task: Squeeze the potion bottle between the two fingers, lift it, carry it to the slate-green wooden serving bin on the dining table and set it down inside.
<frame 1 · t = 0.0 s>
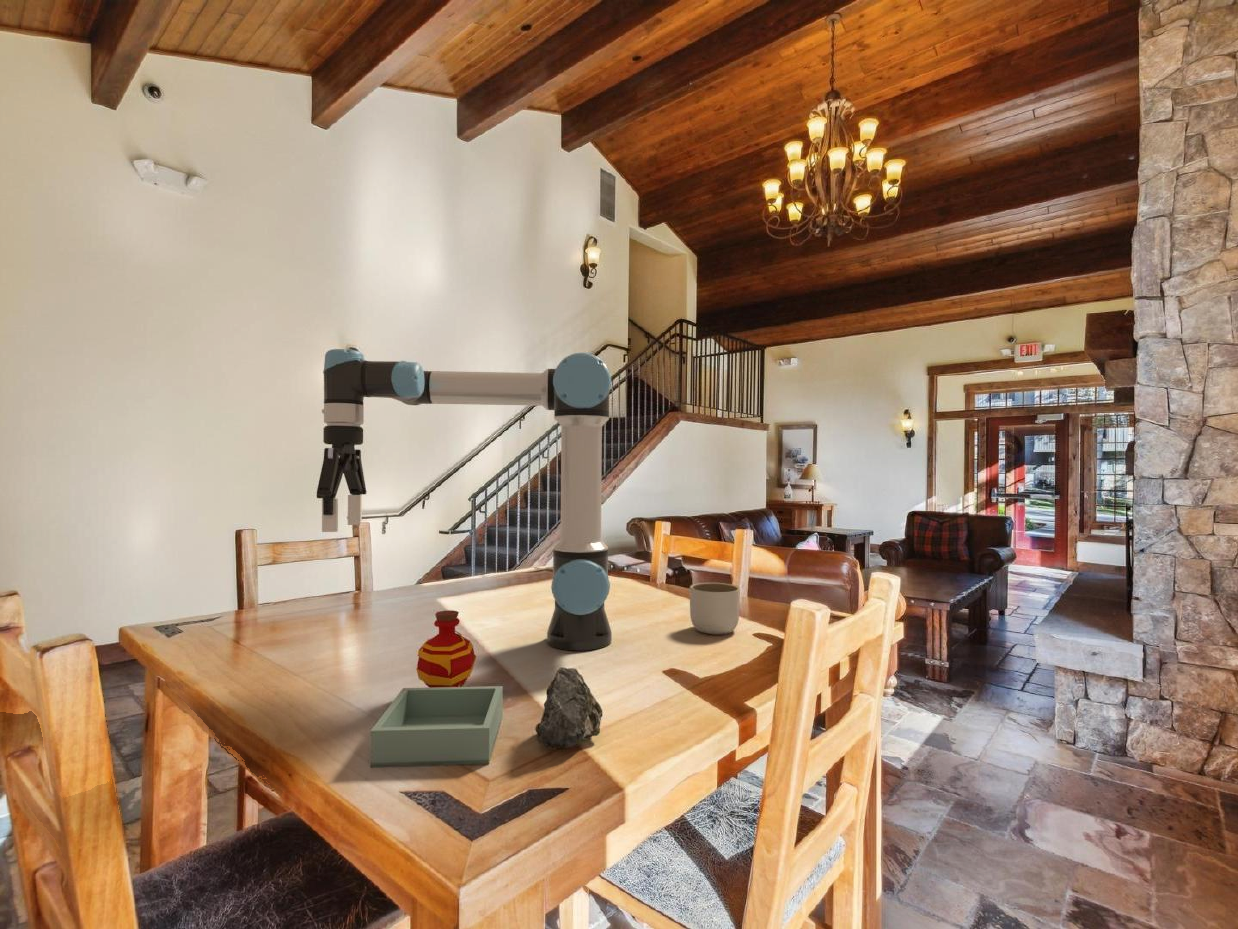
hand: (342, 528, 127), 28 cm above the table, fingers open, 13 cm apart
potion bottle: (445, 698, 109), on the table
planter: (714, 631, 154), on the table
rock: (568, 744, 92), on the table
serving bin: (442, 739, 92), on the table
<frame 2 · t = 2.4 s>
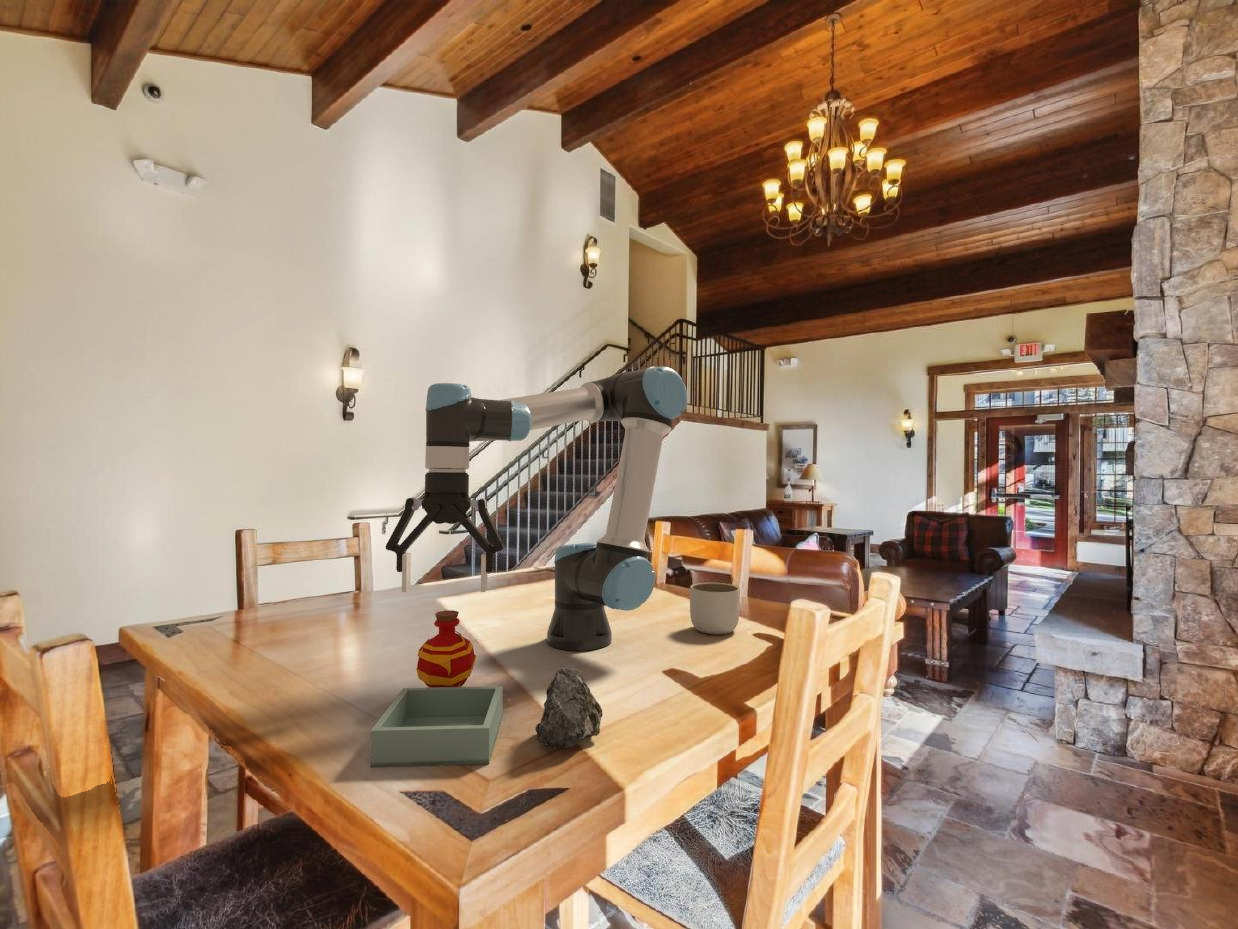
hand: (445, 590, 109), 19 cm above the table, fingers open, 13 cm apart
nothing on the table moved.
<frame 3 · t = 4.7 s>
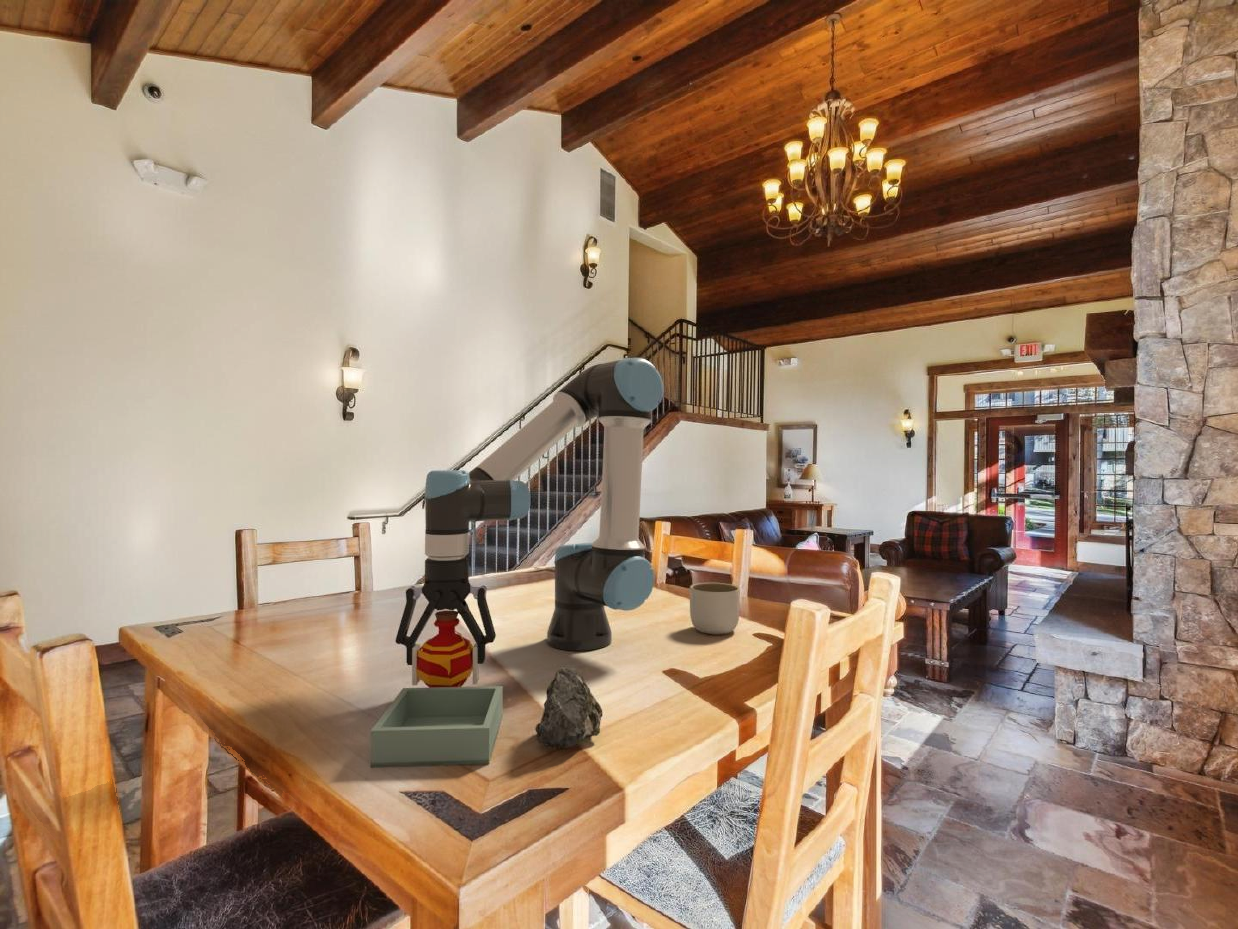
hand: (446, 682, 109), 3 cm above the table, fingers closed on potion bottle, 10 cm apart
potion bottle: (445, 698, 109), on the table, touching gripper
everything else where it was.
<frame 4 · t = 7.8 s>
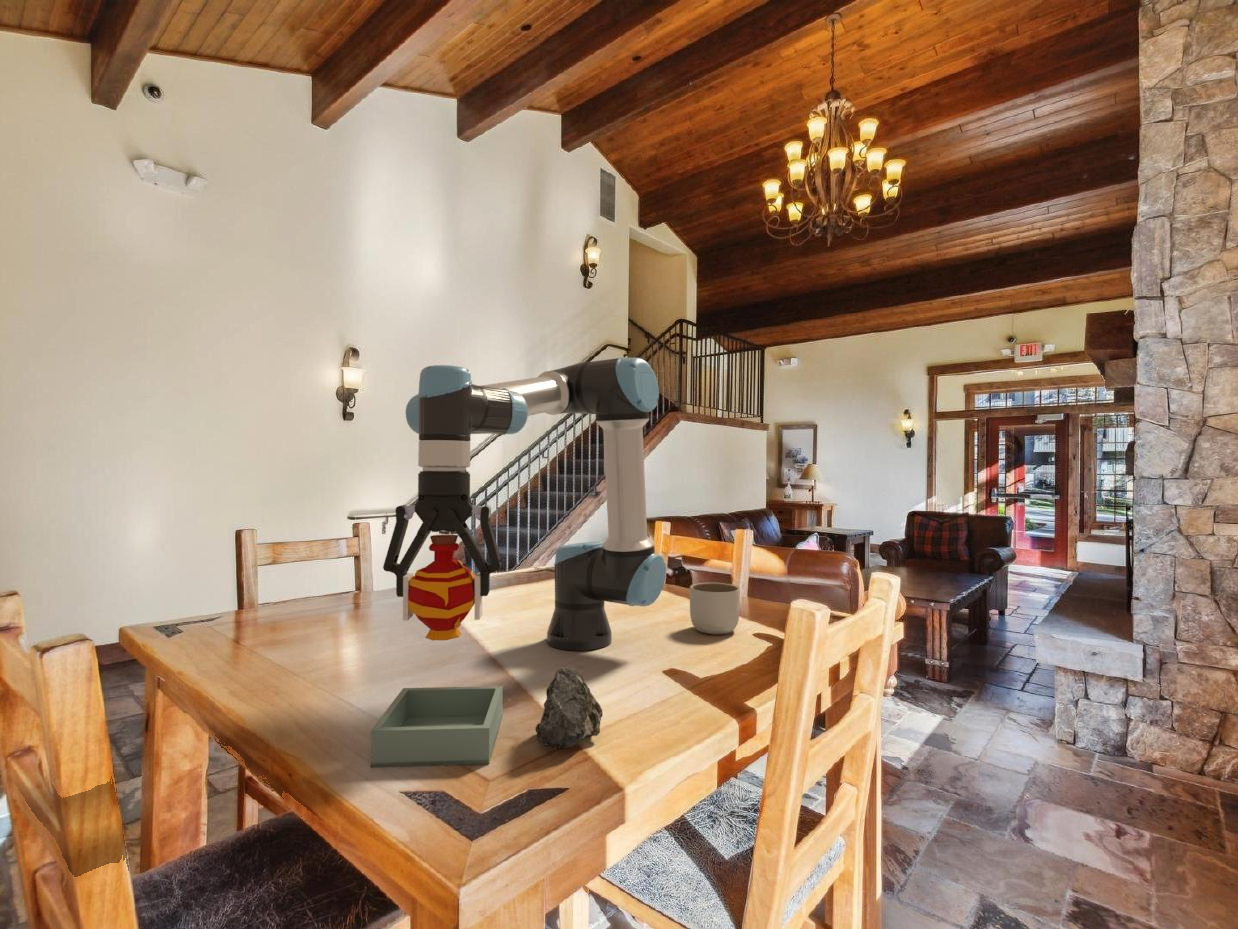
hand: (443, 617, 92), 18 cm above the table, fingers closed on potion bottle, 10 cm apart
potion bottle: (442, 636, 92), point 15 cm above the table, touching gripper
everything else where it was.
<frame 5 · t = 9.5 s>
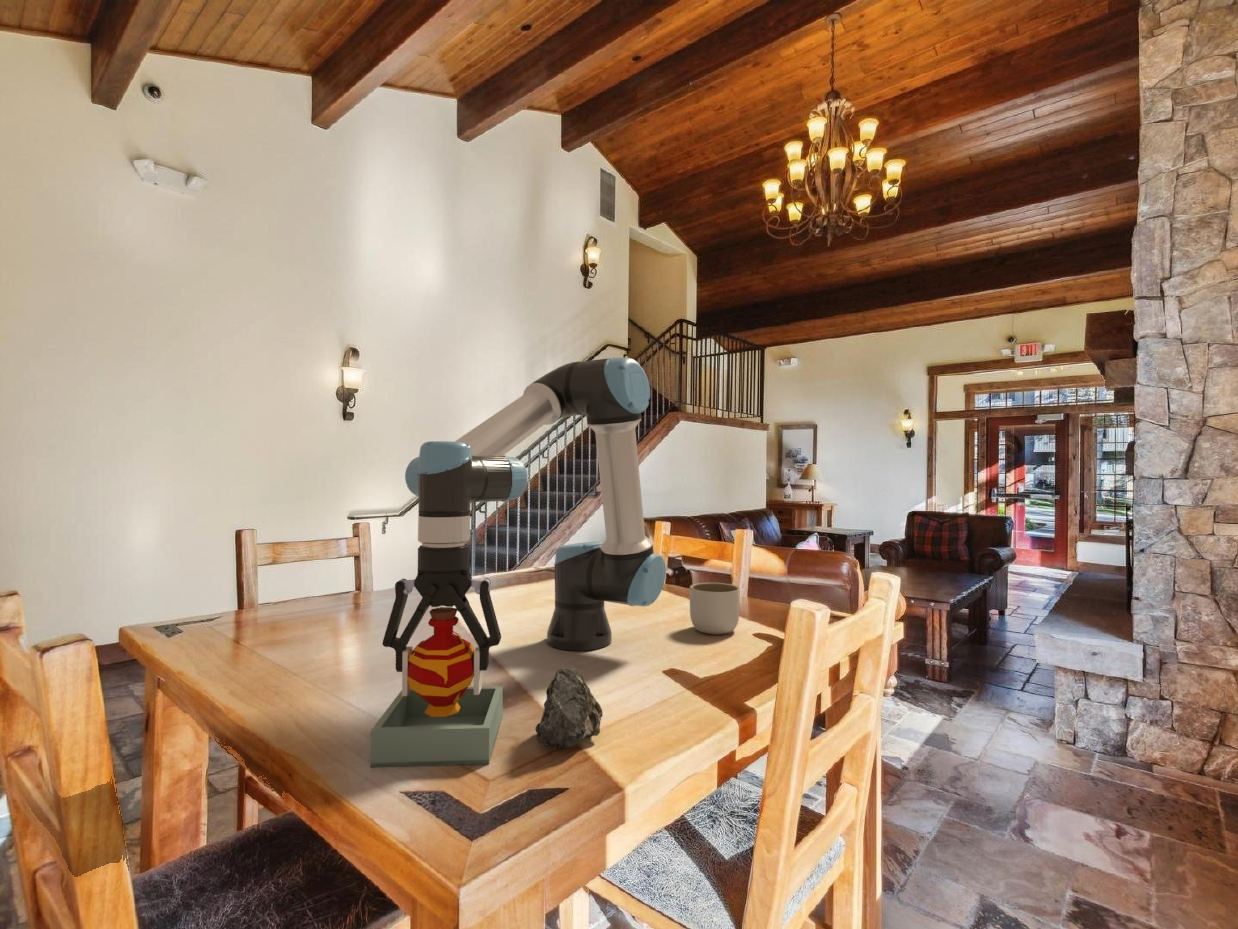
hand: (442, 692, 92), 7 cm above the table, fingers closed on potion bottle, 10 cm apart
potion bottle: (441, 711, 92), point 4 cm above the table, touching gripper
everything else where it was.
when the fingers open (5 cm above the table, at t = 11.1 s): potion bottle drops 1 cm, resting on serving bin.
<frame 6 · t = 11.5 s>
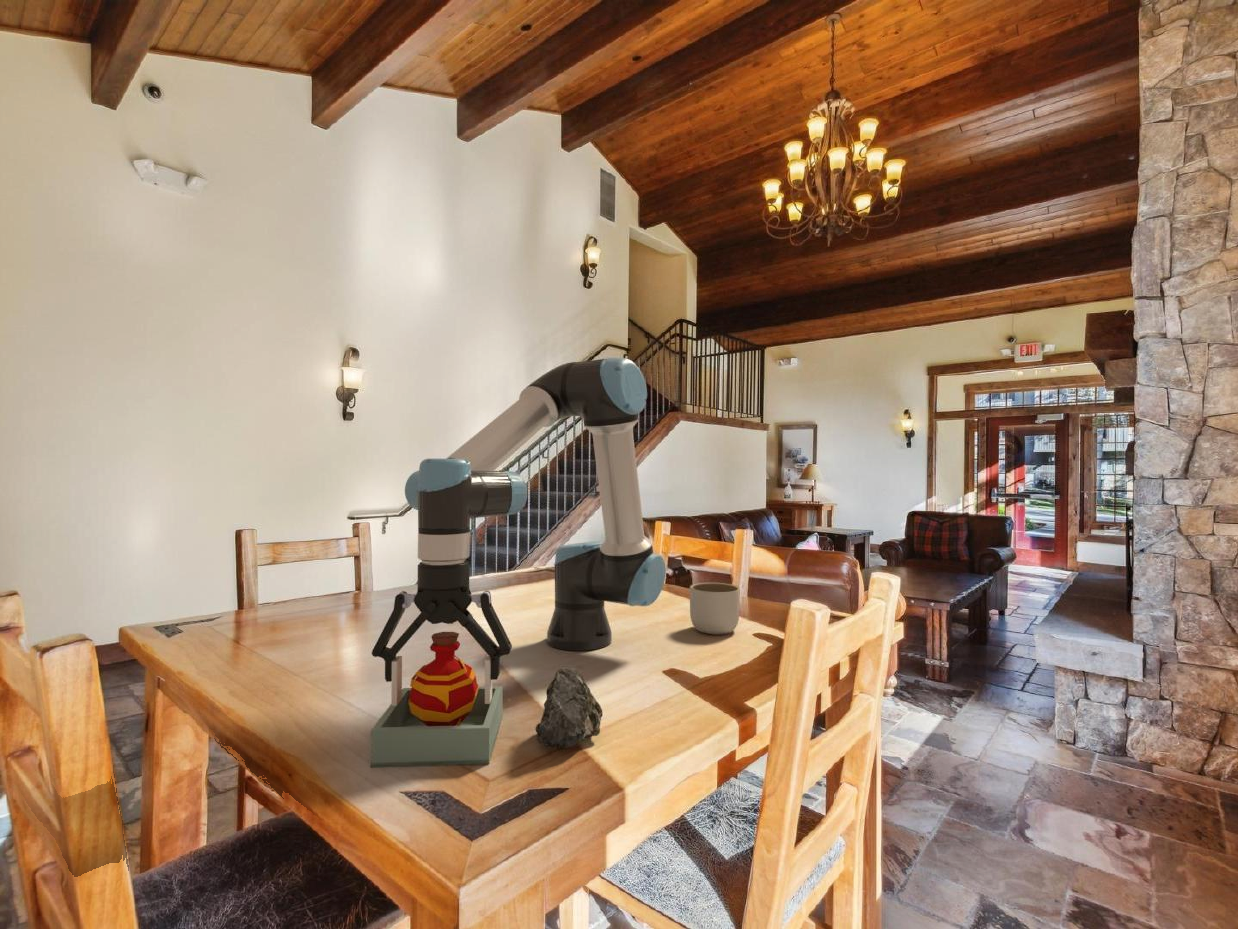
hand: (442, 701, 92), 6 cm above the table, fingers open, 13 cm apart
potion bottle: (443, 735, 93), resting on serving bin
everything else where it was.
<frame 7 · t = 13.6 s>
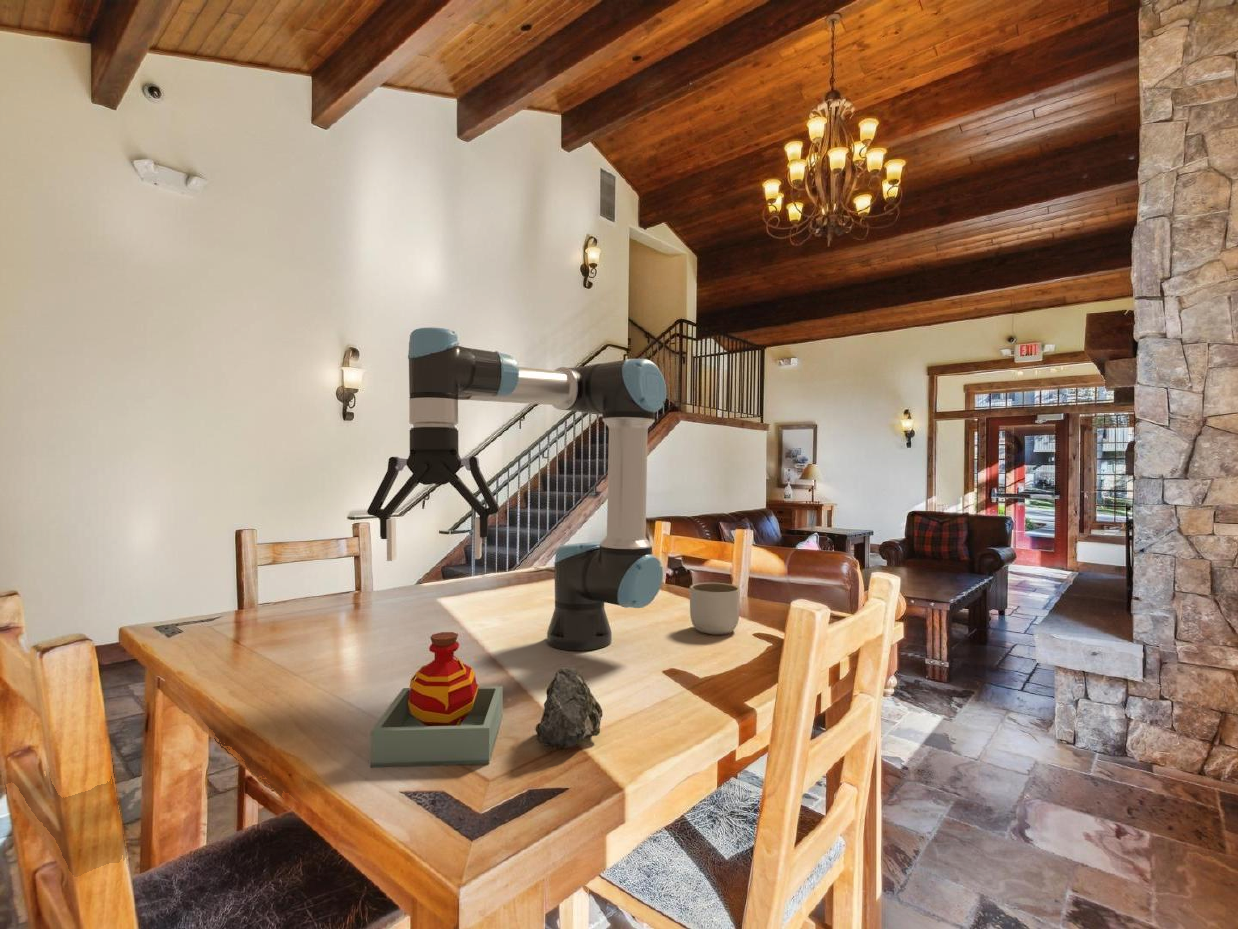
hand: (435, 559, 99), 26 cm above the table, fingers open, 13 cm apart
nothing on the table moved.
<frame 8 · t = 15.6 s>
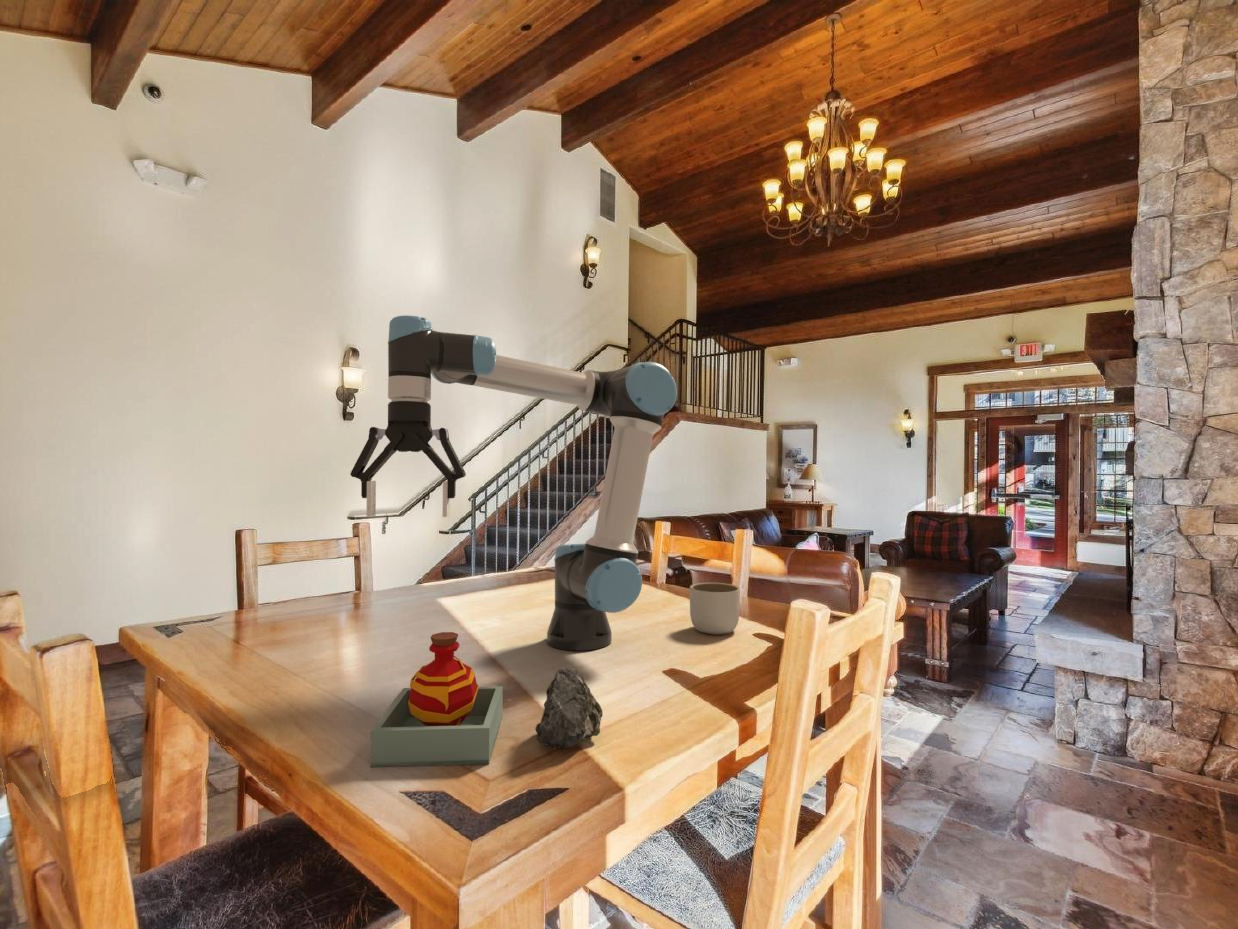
hand: (408, 516, 113), 32 cm above the table, fingers open, 13 cm apart
nothing on the table moved.
at the end: potion bottle inside the target area on the serving bin (0.3 cm from its centre), point 0.4 cm above the serving bin's base; potion bottle tilted 0°; the gripper is holding nothing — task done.
